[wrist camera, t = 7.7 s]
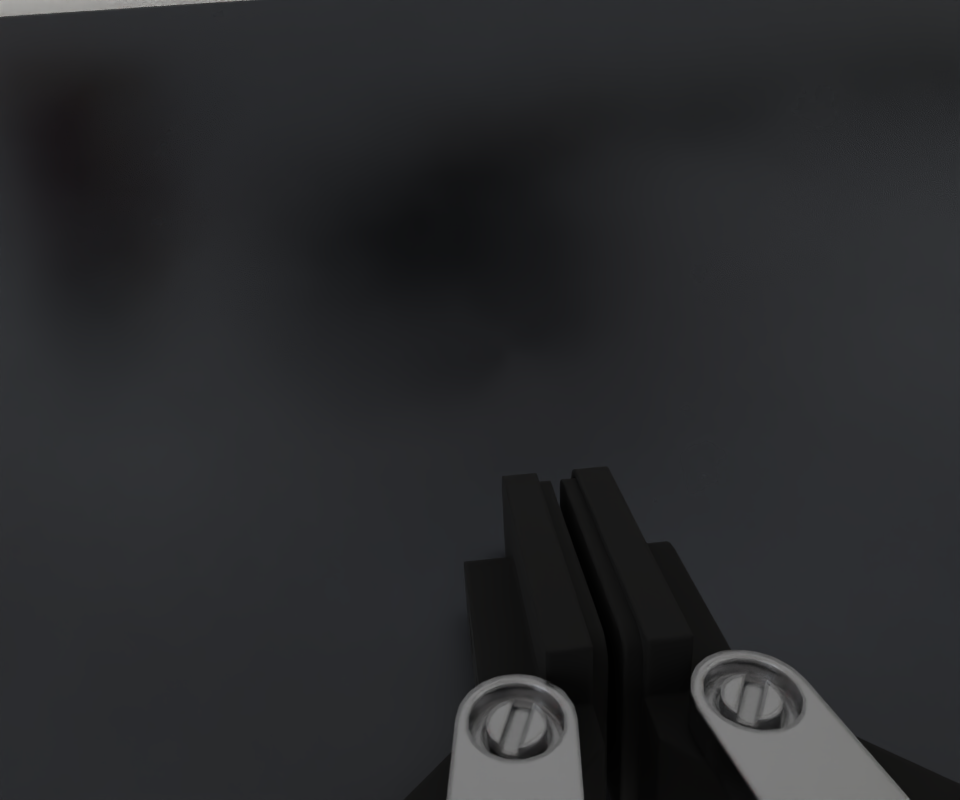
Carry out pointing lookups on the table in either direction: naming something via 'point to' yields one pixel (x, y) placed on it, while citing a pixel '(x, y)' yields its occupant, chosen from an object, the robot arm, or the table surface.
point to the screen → (459, 362)
